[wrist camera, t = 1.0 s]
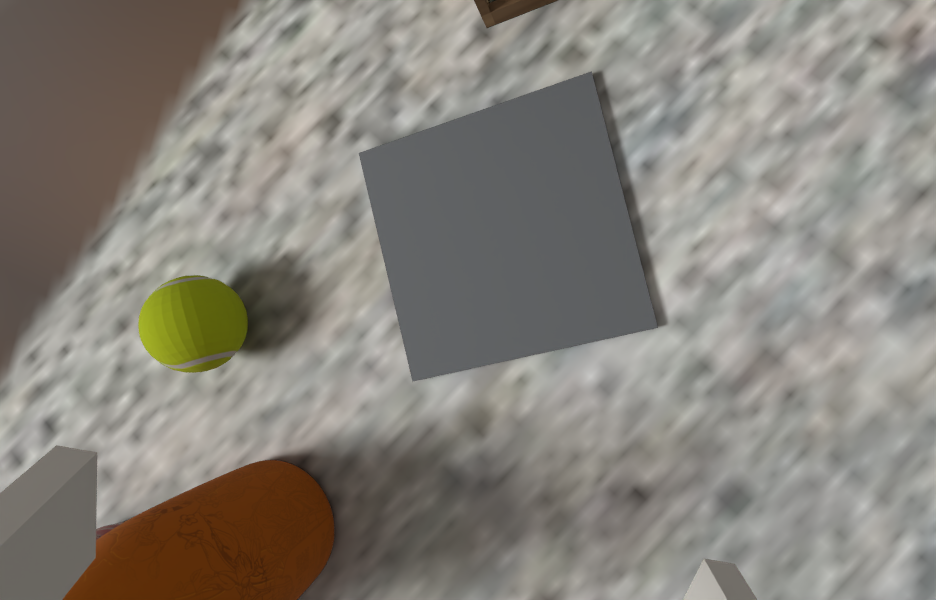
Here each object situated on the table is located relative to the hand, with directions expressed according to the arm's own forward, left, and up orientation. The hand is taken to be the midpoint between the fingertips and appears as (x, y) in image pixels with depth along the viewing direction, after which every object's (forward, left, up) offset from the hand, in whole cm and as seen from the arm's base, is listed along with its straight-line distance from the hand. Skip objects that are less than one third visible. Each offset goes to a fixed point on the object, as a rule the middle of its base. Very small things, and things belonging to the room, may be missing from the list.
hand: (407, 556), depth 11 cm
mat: (+4, -9, -23) cm, 25 cm away
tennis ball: (+24, -1, -23) cm, 33 cm away
